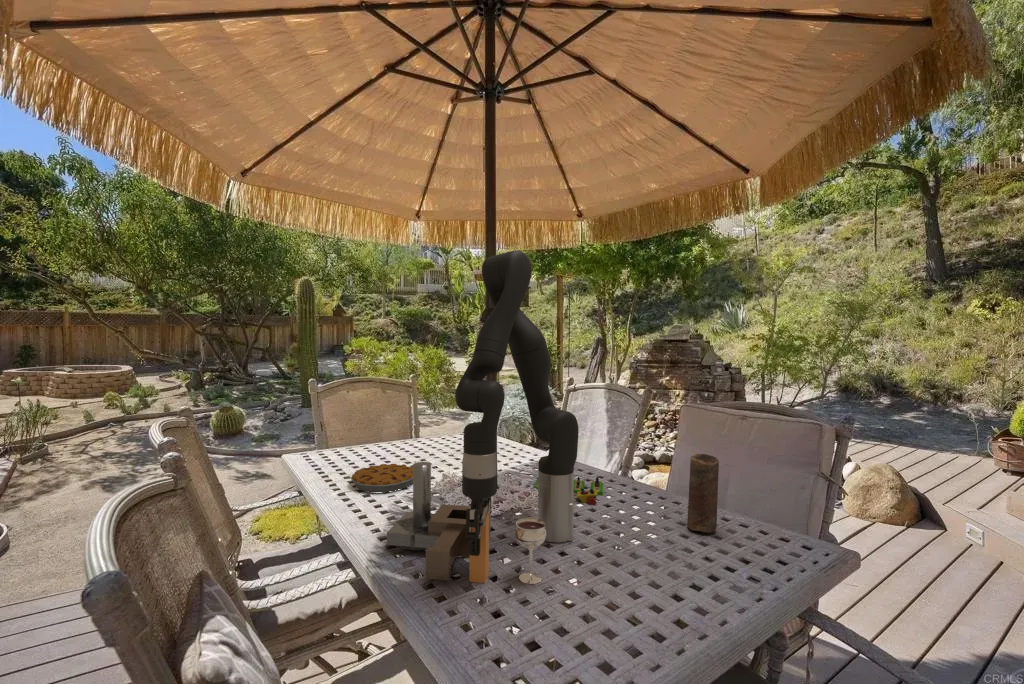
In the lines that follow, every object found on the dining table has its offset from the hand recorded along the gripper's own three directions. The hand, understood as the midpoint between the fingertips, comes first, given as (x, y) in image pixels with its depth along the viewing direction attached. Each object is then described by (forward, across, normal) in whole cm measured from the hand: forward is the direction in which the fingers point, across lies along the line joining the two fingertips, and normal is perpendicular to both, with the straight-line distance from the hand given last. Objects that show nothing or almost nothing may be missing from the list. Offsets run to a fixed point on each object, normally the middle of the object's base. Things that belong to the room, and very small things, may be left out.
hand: (479, 545), depth 104 cm
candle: (+7, +34, -54) cm, 64 cm away
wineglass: (+7, +2, -11) cm, 13 cm away
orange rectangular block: (+7, 0, 0) cm, 7 cm away
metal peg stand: (+7, +14, +18) cm, 24 cm away
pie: (+8, +55, +46) cm, 72 cm away
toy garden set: (+8, +57, -17) cm, 60 cm away
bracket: (+7, +7, +8) cm, 13 cm away
